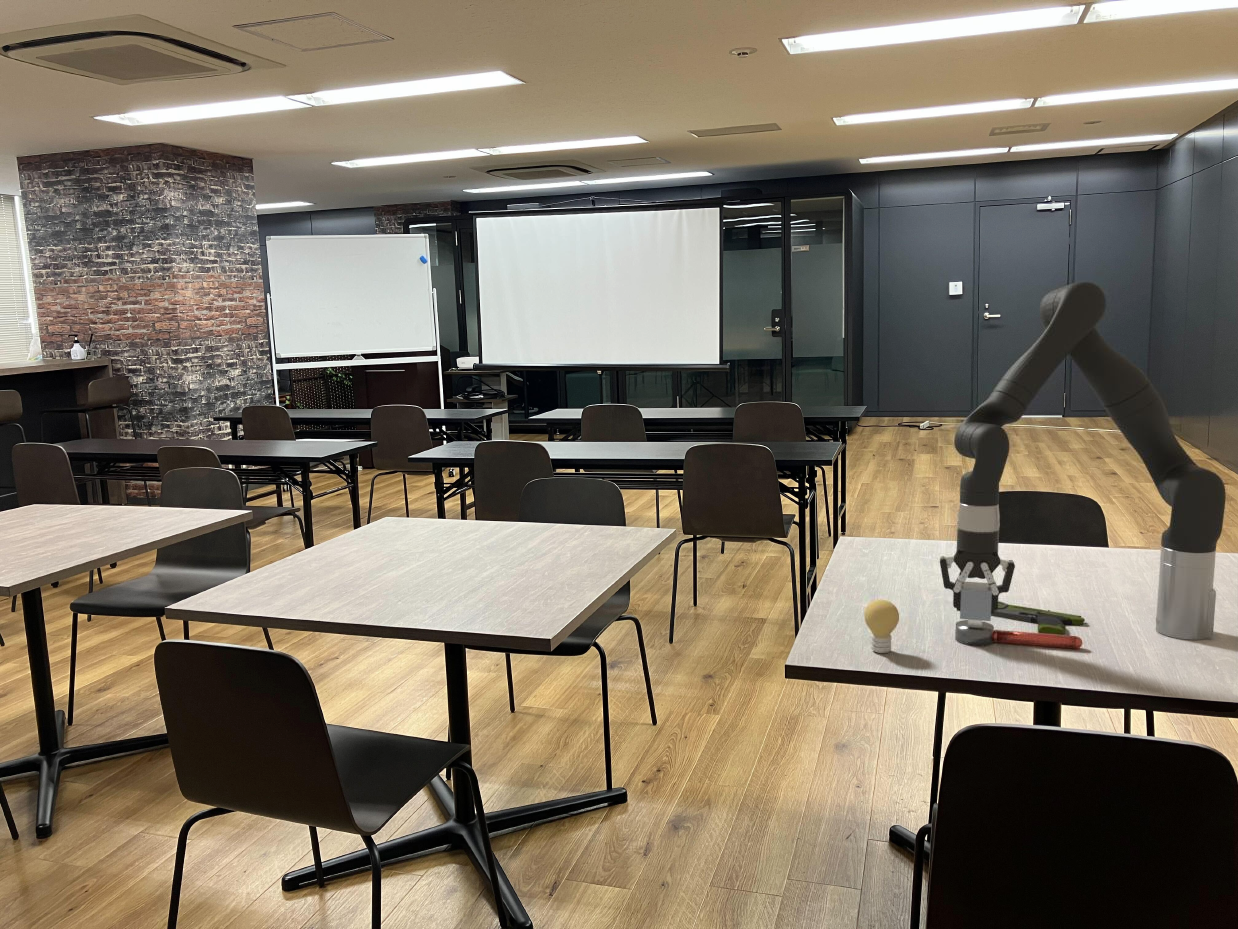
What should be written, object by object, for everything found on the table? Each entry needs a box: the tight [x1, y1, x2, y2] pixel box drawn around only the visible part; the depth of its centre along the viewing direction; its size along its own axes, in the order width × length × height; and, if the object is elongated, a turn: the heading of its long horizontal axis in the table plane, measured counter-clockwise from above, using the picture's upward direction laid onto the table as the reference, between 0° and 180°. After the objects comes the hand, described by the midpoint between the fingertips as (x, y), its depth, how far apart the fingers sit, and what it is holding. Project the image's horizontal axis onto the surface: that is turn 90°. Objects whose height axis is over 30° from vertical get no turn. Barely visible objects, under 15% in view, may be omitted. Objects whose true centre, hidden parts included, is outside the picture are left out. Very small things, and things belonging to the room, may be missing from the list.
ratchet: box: [954, 619, 1084, 650], centre depth 183 cm, size 23×7×8 cm, turn 71°
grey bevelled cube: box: [959, 581, 992, 622], centre depth 185 cm, size 6×6×6 cm
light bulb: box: [863, 599, 900, 654], centre depth 180 cm, size 6×6×10 cm
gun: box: [991, 600, 1085, 635], centre depth 196 cm, size 2×19×15 cm
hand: (974, 610), depth 185 cm, fingers closed on grey bevelled cube, 5 cm apart
